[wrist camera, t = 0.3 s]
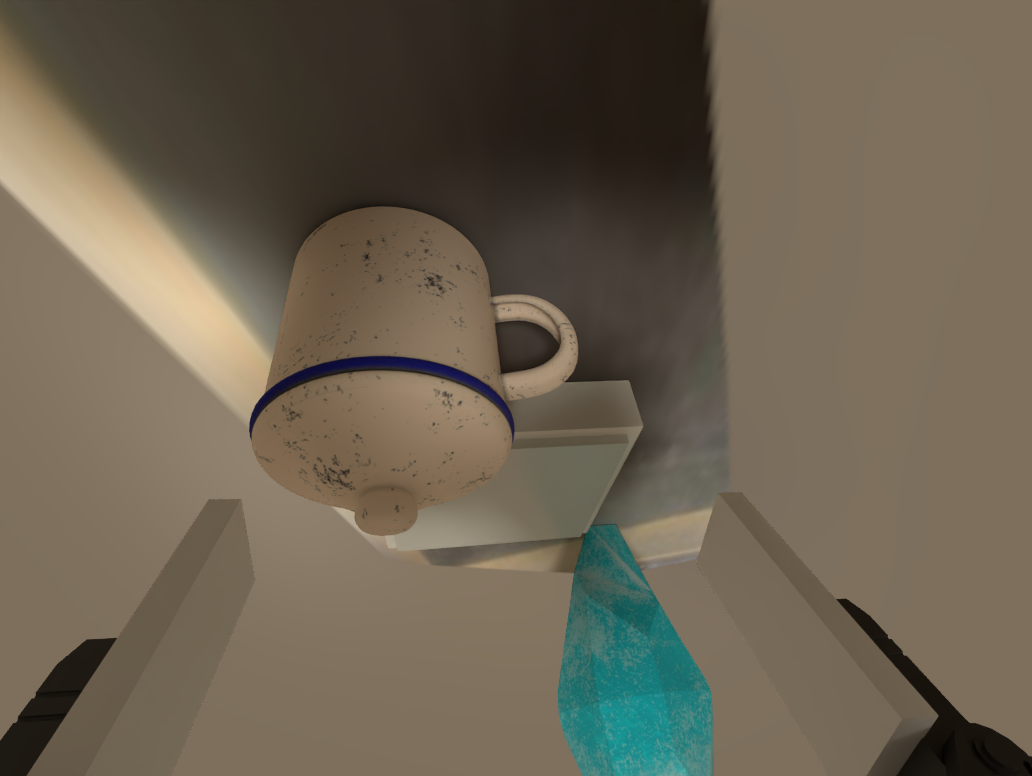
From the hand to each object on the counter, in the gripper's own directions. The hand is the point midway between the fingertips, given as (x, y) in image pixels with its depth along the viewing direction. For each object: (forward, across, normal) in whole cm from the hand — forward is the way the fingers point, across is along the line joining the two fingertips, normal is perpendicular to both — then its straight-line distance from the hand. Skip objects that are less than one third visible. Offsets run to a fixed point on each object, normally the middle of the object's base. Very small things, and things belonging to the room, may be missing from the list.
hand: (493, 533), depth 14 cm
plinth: (+20, +2, -10) cm, 22 cm away
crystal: (+28, +15, -24) cm, 40 cm away
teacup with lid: (+13, -2, +4) cm, 13 cm away
